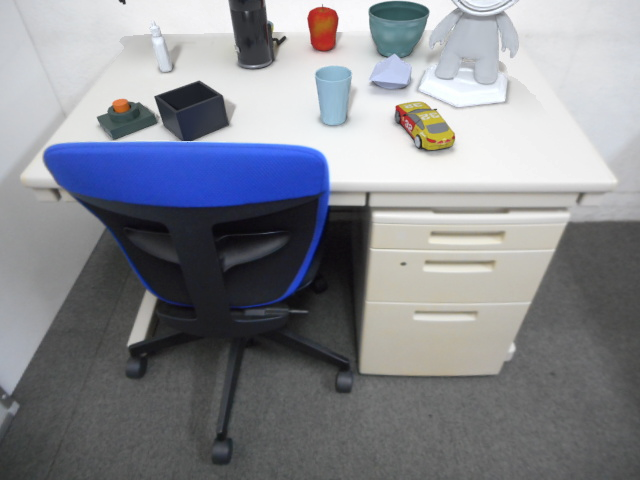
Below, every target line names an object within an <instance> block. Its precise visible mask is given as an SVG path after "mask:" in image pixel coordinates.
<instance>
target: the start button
mask: <svg viewBox="0 0 640 480" xmlns="http://www.w3.org/2000/svg"><path fill="white" fill-rule="evenodd" d="M128 101H129V100H128V99H126V98H118V99H115V100H114V101H112V102H111V106H112V105H113V107H114V110H115V112H118V113H119V112H125V111H128V110H129V109H130V106H129V103H128Z"/></svg>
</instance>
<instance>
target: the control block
mask: <svg viewBox="0 0 640 480" xmlns="http://www.w3.org/2000/svg"><path fill="white" fill-rule="evenodd" d="M128 103H129V106H130V109H129V110H128V111H125V112H119V113H118V112H115V110H114V107H113V105H112V104H111V105H110V106H109V107H108V108H107V111H106V113H104V114H101V115H97V116H96V120H97V121H98V124H99V126H100V127H101V128H102V129H103V130H104V132H106V133H107V135H109V136H110V138H111V139H112V140H117V139H120V138H122V137H124V136H127V135H130V134H133V133H135V132H138V131H140V130H144V129H146V128H148V127H151V126H153V125H156V124H157V123H158V122H157V121H158V120H157V119H156V115H155V113H153V111H150V110H149V109H148V108H147V107H146V106H145V105H144V104H143V103H141V102H140V101H138V102H134V101H129V100H128Z"/></svg>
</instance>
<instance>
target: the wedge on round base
mask: <svg viewBox="0 0 640 480" xmlns="http://www.w3.org/2000/svg"><path fill="white" fill-rule="evenodd" d="M412 70H413V69H412V65H411V64H410V63H408V62H407V61H403V59H402V58H401V57H398V56H397V55H396V54H393V55H392V56H390V57H388V56H387V58H385V59H383V60H382V61H379V62H377V63H376V64H375V66H374V67H373V70H372V72H371V74H370V76H369V78H368V81H370V82H374V83H375V84H376V85H377V86H379V87H381V88H384V89H389V90H392V89H394V90H396V89H397V90H398V89H403V88H405V87H407V86H409V84H410V83H411V78H412Z"/></svg>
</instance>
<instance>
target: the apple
mask: <svg viewBox="0 0 640 480" xmlns="http://www.w3.org/2000/svg"><path fill="white" fill-rule="evenodd" d="M339 19H340V17H339V15H338V12H337V11H336V9H333V8H331V7H327V6H324V4H323V3H321V6H317V7H315V8H312V9H310V10H309V12H308V15H307V17H306V20H307V26H308V32H309V37H310V45H311V46H312V47H313V48H314V49H315V50H317V51H320V52H326V51H327V52H328V51H330V50H332V49H333V48H335V46H336V44H337V43H336V41H337V32H338V27H339Z"/></svg>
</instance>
